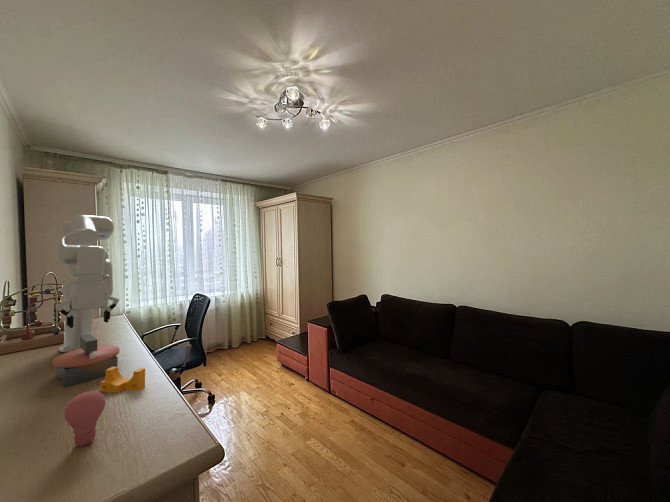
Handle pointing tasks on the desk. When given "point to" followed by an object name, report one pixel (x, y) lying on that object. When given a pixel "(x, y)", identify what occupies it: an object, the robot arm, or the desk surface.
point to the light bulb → (84, 415)
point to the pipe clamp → (122, 381)
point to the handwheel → (86, 354)
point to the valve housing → (85, 372)
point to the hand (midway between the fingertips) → (89, 324)
